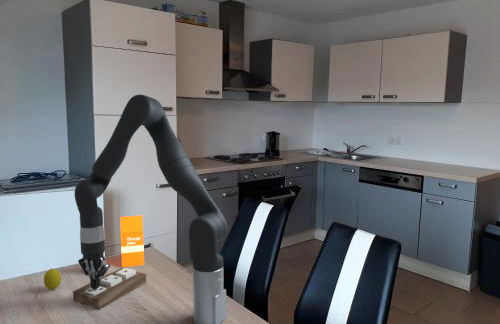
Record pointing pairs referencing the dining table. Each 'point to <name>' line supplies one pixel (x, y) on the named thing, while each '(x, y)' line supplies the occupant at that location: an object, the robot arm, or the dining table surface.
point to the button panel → (109, 291)
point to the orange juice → (132, 241)
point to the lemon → (52, 279)
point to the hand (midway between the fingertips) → (95, 288)
